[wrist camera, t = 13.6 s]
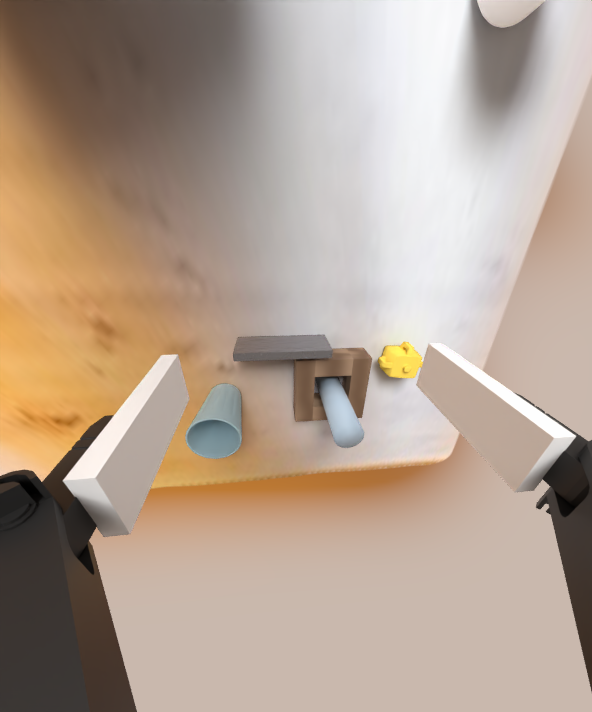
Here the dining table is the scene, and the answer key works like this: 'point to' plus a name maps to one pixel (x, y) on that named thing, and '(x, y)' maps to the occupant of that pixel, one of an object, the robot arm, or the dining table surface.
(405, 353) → the teapot
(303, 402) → the socket block
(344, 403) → the peg
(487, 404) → the robot arm
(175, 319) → the dining table surface
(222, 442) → the cup
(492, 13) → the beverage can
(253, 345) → the rail
